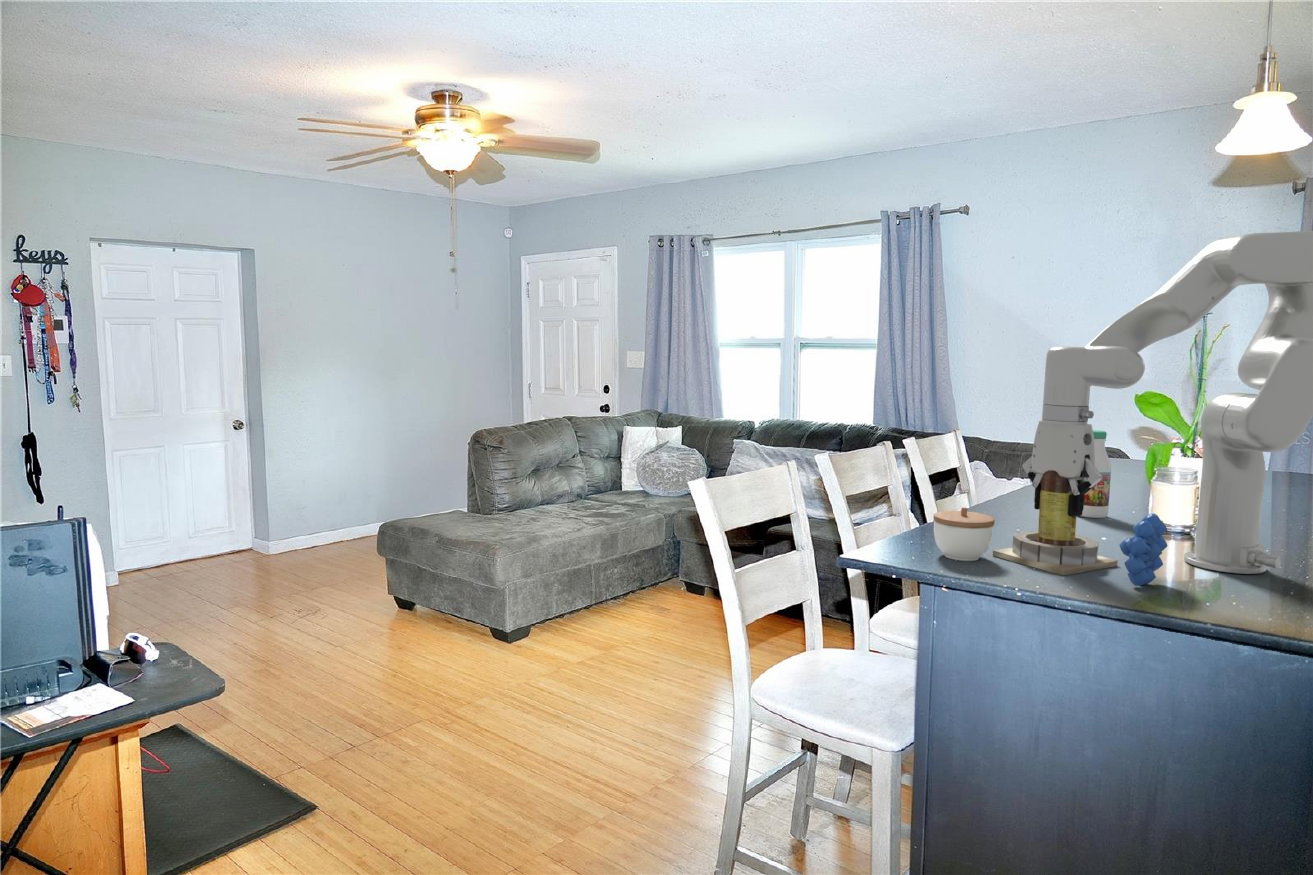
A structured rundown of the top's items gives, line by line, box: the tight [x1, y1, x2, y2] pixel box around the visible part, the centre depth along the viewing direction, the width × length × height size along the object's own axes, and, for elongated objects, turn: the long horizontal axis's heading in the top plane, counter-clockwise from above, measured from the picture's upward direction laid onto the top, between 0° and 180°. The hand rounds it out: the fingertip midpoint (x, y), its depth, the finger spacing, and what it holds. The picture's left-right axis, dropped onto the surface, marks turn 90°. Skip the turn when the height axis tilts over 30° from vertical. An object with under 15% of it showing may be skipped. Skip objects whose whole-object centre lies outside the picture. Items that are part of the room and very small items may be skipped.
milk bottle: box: [1080, 429, 1112, 519], centre depth 199 cm, size 8×8×20 cm
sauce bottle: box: [1037, 470, 1077, 546], centre depth 156 cm, size 6×6×20 cm
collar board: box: [992, 530, 1119, 577], centre depth 158 cm, size 15×15×4 cm
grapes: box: [1119, 513, 1168, 587], centre depth 143 cm, size 12×7×12 cm, turn 130°
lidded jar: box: [933, 506, 996, 562], centre depth 159 cm, size 11×11×9 cm
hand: (1057, 511), depth 157 cm, fingers closed on sauce bottle, 6 cm apart
